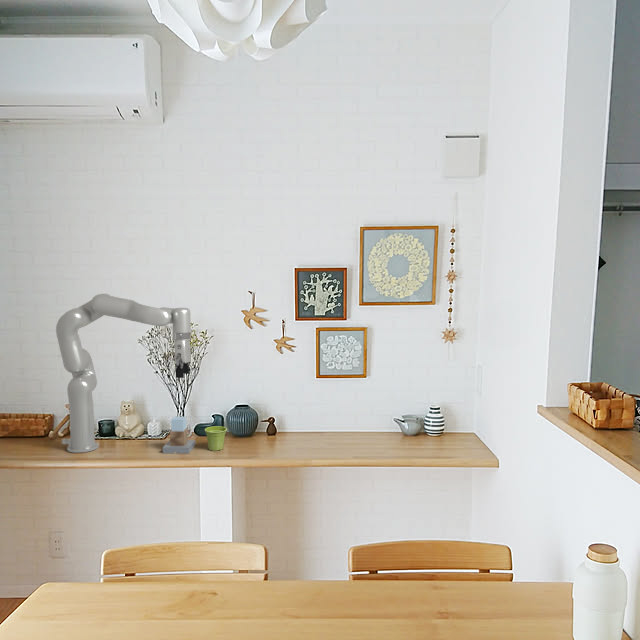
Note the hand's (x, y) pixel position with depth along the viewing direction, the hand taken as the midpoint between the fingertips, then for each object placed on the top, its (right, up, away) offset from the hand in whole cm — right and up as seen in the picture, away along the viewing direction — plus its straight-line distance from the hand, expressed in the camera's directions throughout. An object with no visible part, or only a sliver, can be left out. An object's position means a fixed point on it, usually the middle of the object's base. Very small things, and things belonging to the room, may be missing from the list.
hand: (182, 375), depth 260 cm
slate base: (0, -31, -5) cm, 31 cm away
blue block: (0, -22, -6) cm, 23 cm away
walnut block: (0, -28, -6) cm, 29 cm away
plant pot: (+15, -31, -5) cm, 35 cm away
